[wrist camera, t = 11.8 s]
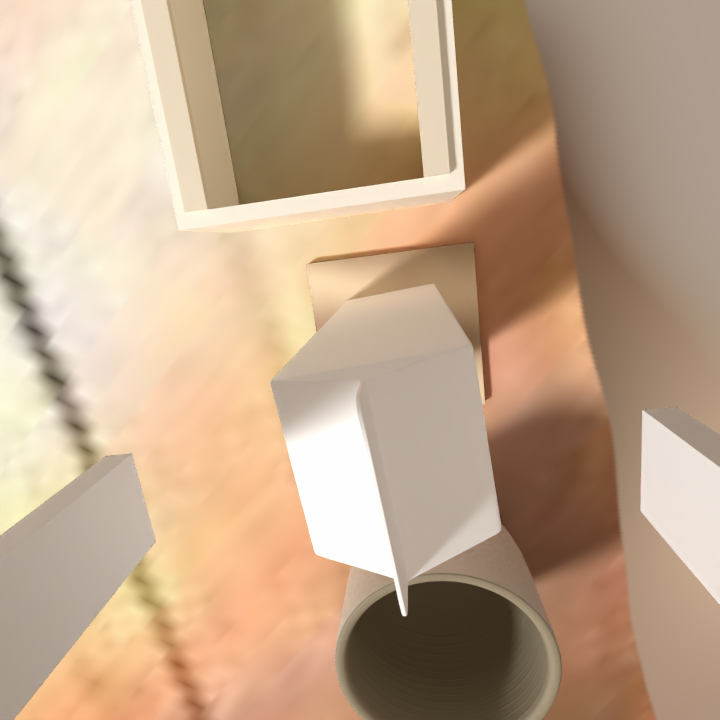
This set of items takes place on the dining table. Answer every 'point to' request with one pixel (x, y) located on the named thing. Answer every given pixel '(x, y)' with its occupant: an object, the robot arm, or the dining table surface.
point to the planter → (450, 641)
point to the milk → (389, 436)
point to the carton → (210, 142)
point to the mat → (403, 284)
